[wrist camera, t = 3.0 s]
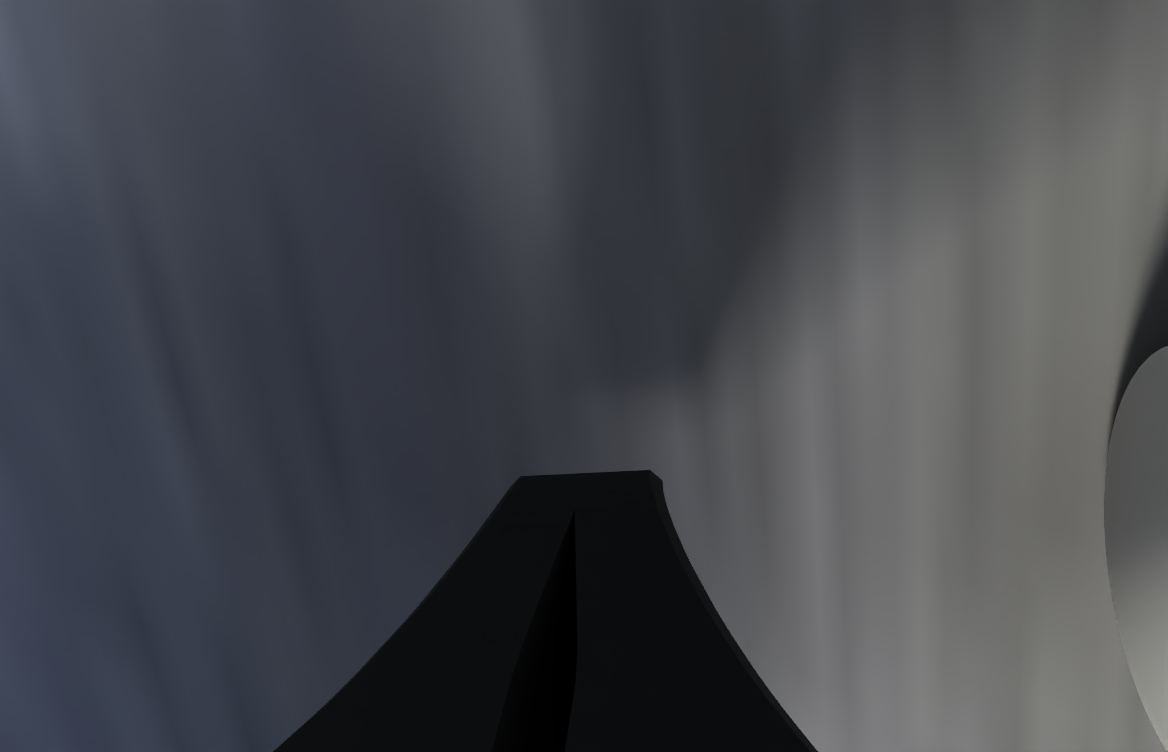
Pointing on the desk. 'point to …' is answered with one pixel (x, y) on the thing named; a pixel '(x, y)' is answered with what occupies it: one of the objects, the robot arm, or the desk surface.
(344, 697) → the robot arm
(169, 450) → the desk surface
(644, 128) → the desk surface
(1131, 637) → the knob
